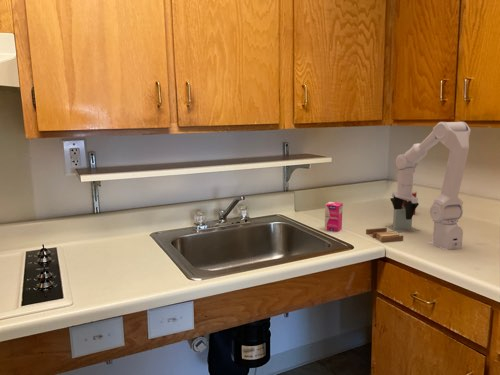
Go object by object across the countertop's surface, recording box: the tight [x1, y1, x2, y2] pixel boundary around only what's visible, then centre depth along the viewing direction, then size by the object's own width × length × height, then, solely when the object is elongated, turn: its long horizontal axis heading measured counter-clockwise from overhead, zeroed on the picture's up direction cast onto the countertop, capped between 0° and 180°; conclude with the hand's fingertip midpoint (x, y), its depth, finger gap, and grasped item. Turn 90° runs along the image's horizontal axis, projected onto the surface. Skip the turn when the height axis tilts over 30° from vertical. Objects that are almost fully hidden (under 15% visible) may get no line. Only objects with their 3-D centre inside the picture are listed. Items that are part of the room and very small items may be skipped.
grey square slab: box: [392, 209, 413, 230], centre depth 166 cm, size 2×8×8 cm, turn 103°
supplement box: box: [324, 201, 344, 233], centre depth 165 cm, size 6×6×12 cm
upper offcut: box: [377, 231, 400, 238], centre depth 152 cm, size 4×7×1 cm, turn 103°
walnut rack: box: [365, 227, 404, 244], centre depth 154 cm, size 12×9×2 cm
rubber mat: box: [384, 225, 421, 234], centre depth 166 cm, size 10×10×1 cm
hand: (403, 217), depth 165 cm, fingers open, 7 cm apart
